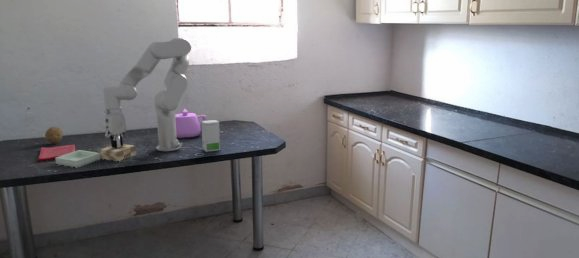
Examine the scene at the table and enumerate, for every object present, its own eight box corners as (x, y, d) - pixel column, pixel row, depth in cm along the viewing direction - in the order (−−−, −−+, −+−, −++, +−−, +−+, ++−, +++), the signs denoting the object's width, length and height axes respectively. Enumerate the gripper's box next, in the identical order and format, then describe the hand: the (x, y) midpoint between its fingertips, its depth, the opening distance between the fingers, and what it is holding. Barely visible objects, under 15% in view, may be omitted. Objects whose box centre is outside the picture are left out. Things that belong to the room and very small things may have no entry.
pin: (124, 156, 223) (122, 131, 220) (118, 158, 219) (115, 133, 216) (118, 155, 225) (115, 130, 222) (112, 157, 221) (109, 132, 218)
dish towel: (37, 163, 214) (36, 158, 214) (40, 151, 235) (39, 146, 234) (75, 158, 221) (74, 153, 221) (75, 147, 242) (74, 142, 241)
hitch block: (136, 154, 225) (135, 145, 224) (118, 161, 214) (117, 152, 213) (118, 152, 230) (117, 143, 228) (100, 158, 219) (99, 149, 218)
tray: (100, 159, 218) (99, 153, 217) (77, 168, 205) (76, 161, 204) (80, 156, 223) (79, 150, 222) (56, 164, 211) (55, 157, 210)
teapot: (208, 137, 257) (206, 112, 254) (171, 140, 253) (169, 114, 249) (206, 128, 279) (205, 105, 275) (172, 130, 275) (171, 107, 271)
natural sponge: (62, 145, 244) (59, 128, 241) (44, 147, 241) (42, 129, 239) (65, 141, 252) (62, 124, 250) (48, 142, 250) (45, 125, 247)
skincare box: (205, 152, 229) (204, 123, 225) (202, 149, 234) (200, 121, 231) (220, 150, 233) (219, 121, 229) (217, 147, 238) (215, 119, 234)
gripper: (106, 114, 207) (110, 151, 212) (131, 108, 222) (134, 143, 227) (94, 113, 210) (99, 150, 215) (120, 107, 225) (123, 141, 229)
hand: (117, 146), depth 221 cm, fingers closed on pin, 3 cm apart
